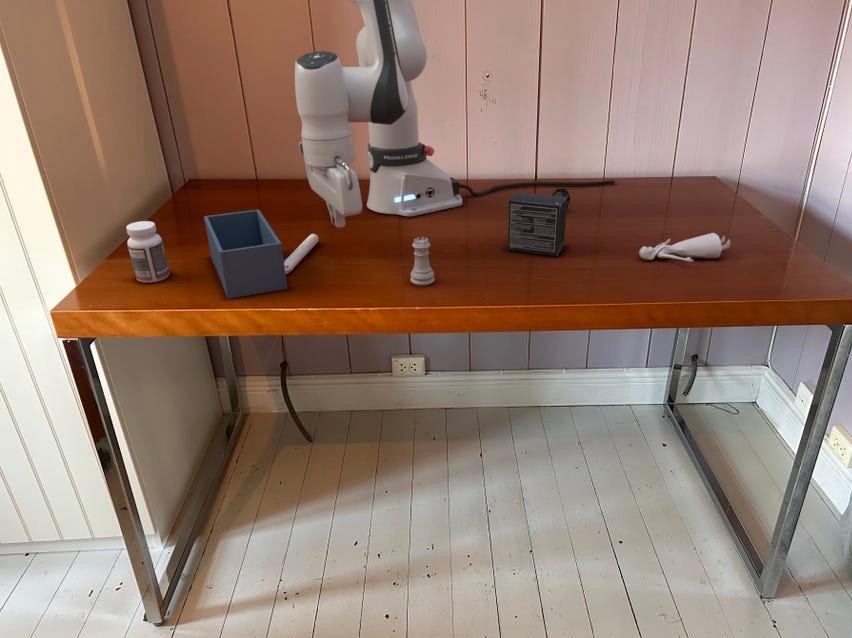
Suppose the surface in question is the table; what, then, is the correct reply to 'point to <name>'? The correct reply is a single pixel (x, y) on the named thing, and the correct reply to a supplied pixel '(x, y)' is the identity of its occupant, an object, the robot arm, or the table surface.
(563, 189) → the smartwatch
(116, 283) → the table surface
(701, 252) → the woman figurine
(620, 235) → the table surface
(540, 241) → the small box
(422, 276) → the rook chess piece
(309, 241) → the marker
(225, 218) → the blue box
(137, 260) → the pill bottle
